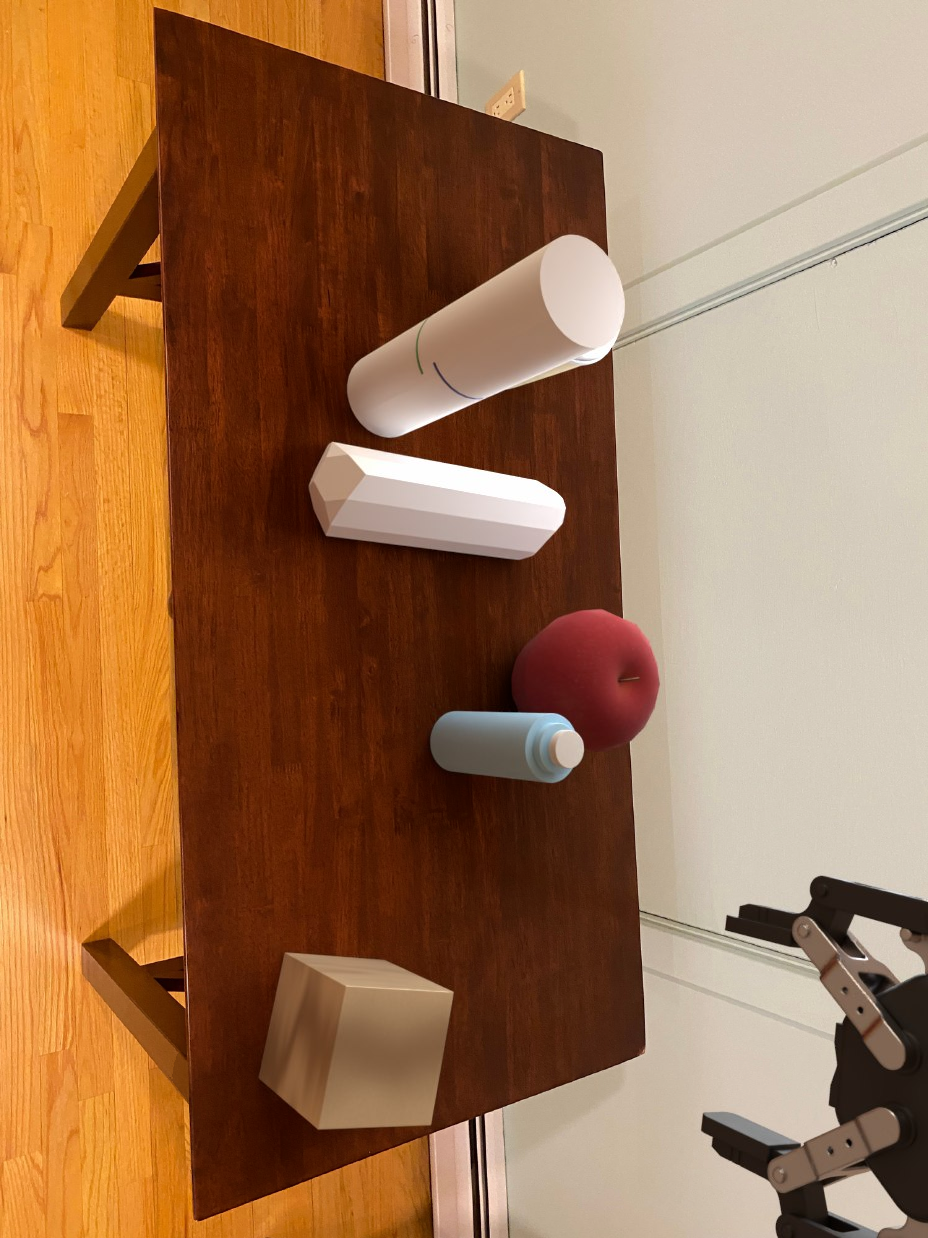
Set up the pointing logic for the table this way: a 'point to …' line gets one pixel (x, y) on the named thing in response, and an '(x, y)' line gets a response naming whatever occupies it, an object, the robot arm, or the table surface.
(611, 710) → the apple
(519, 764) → the bottle
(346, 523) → the crystal
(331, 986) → the cube
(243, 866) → the table surface
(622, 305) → the cylindrical container
